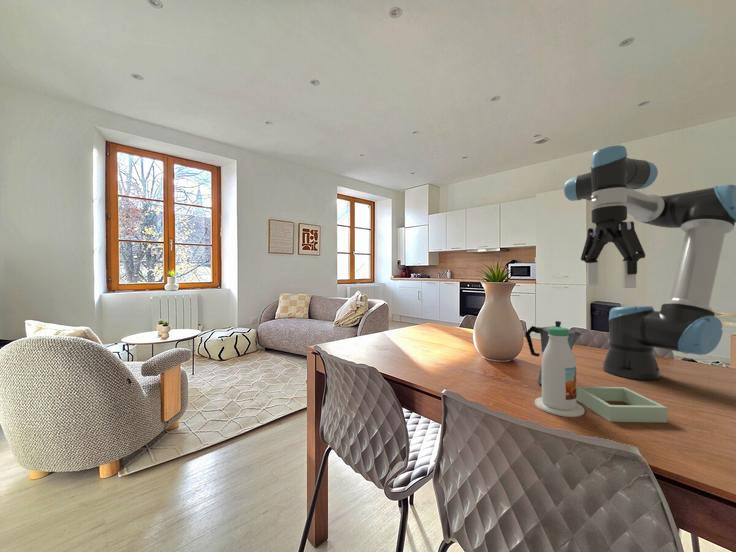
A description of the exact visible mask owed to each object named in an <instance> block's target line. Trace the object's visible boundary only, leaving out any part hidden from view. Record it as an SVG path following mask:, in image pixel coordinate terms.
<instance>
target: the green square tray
mask: <svg viewBox="0 0 736 552" xmlns="http://www.w3.org/2000/svg"><path fill="white" fill-rule="evenodd" d="M576 391H577V402H579V403H580V404H582V405H584V406H585V407H586V408H587V409H589V410H591V411H593V412H594V413H596V414H597V415H598V416H600V417H602V418H604V419H605V420H606V421H607V422H609V423H616V422H617V423H668V407H667V406H664V405H663V404H661V403H659V402H656V401H655V400H653V399H650V398H648V397H646V396H643V395H642V394H640V393H638V392H636V391H633V390H631V389H629V388H627V387H625V386H624V387H623V386H576ZM608 402H624V403H626V404H625V405H624V404H621V405H620V404H618V405H617V404H610V403H608Z"/></svg>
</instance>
